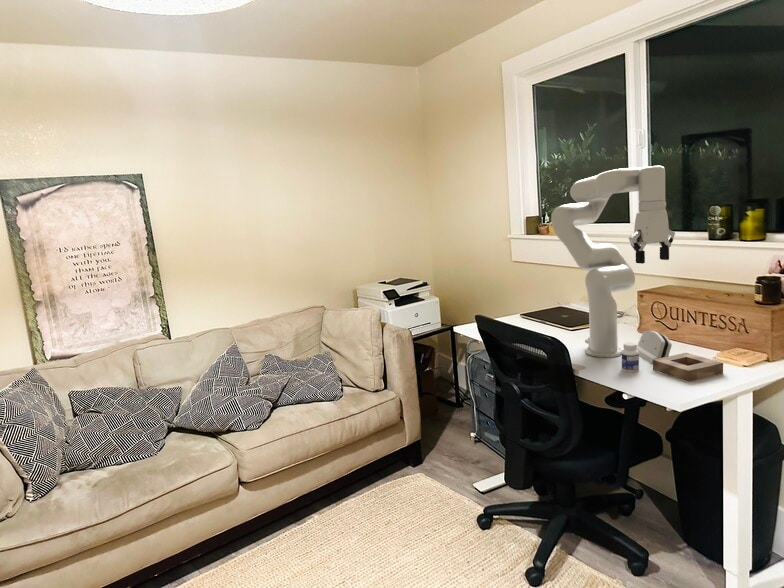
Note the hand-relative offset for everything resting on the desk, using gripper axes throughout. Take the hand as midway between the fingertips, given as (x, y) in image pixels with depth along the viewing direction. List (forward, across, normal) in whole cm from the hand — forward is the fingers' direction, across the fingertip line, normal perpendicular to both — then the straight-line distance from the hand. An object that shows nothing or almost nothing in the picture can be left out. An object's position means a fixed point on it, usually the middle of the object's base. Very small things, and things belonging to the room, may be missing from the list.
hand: (652, 261), depth 178 cm
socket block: (+36, -7, +7) cm, 37 cm away
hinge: (+36, -10, -11) cm, 39 cm away
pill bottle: (+36, +6, -4) cm, 37 cm away
